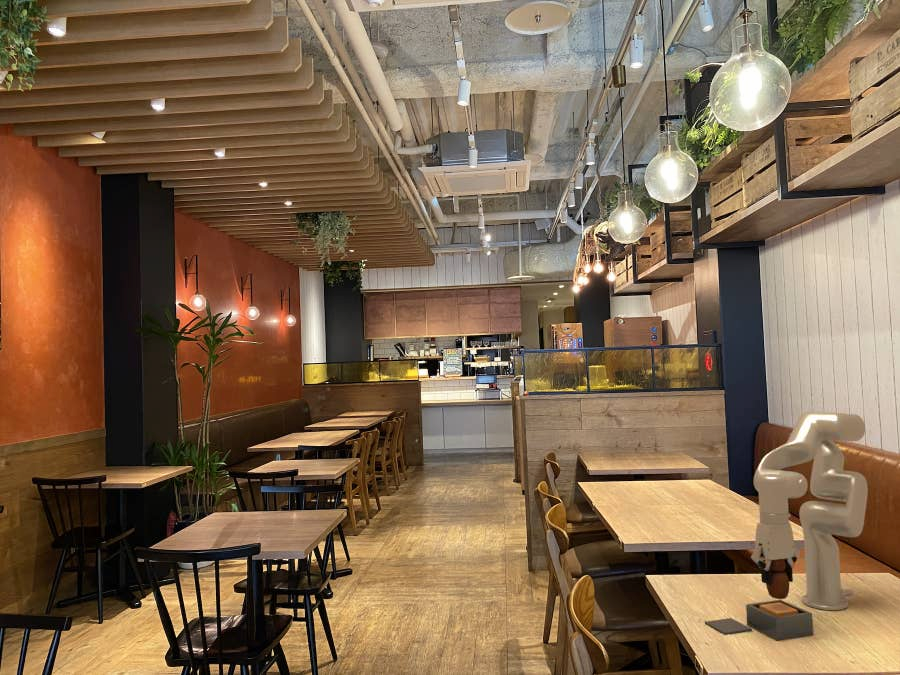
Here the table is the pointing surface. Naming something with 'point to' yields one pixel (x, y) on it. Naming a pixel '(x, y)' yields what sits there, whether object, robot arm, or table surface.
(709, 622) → the mat
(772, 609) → the button
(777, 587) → the wooden figurine
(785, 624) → the box
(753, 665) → the table surface
